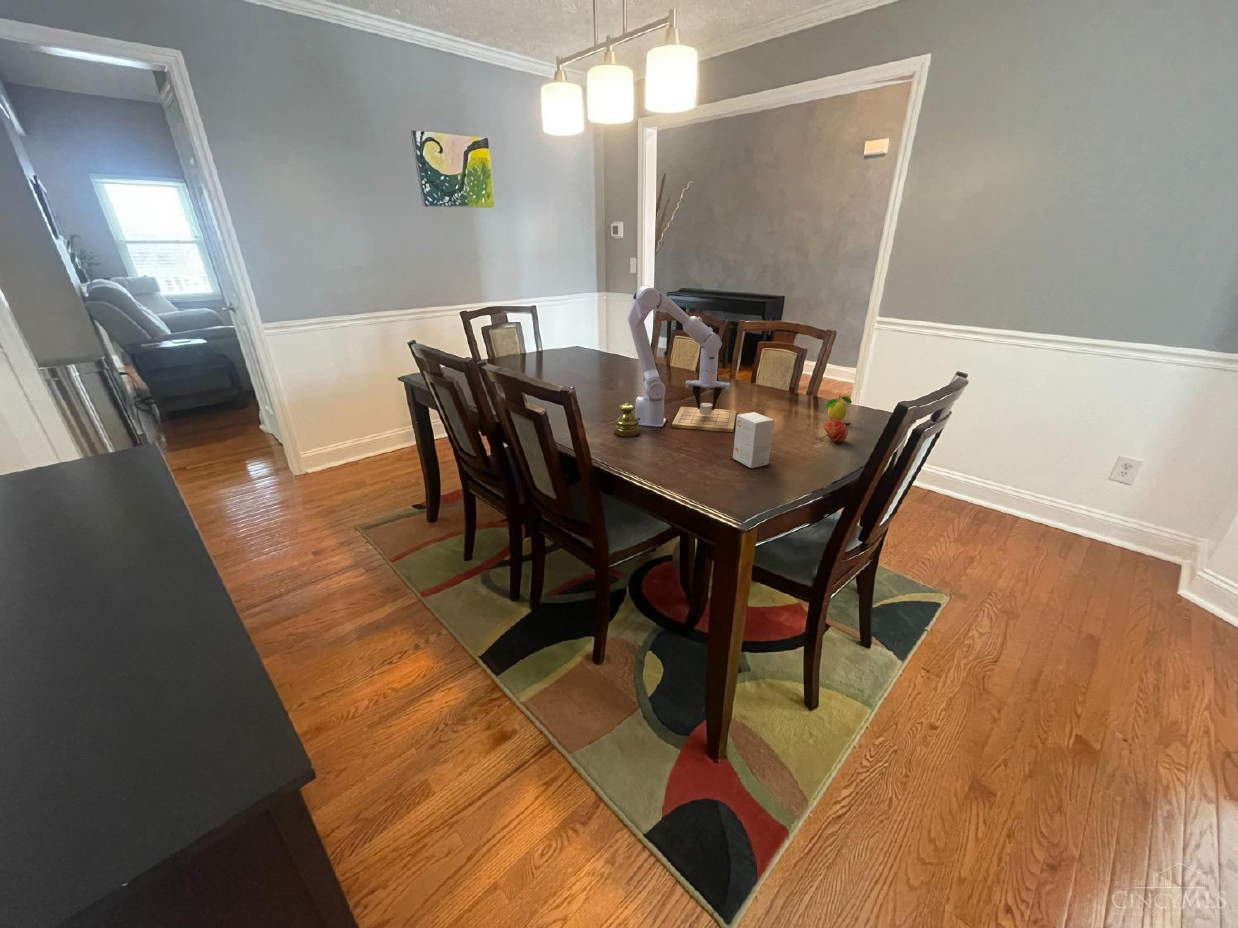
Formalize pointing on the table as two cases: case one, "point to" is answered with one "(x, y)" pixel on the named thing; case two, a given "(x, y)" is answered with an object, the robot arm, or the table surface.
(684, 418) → the board
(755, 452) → the small box
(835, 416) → the yellow pear
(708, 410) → the white short cylinder
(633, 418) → the gold chess pawn
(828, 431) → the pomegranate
